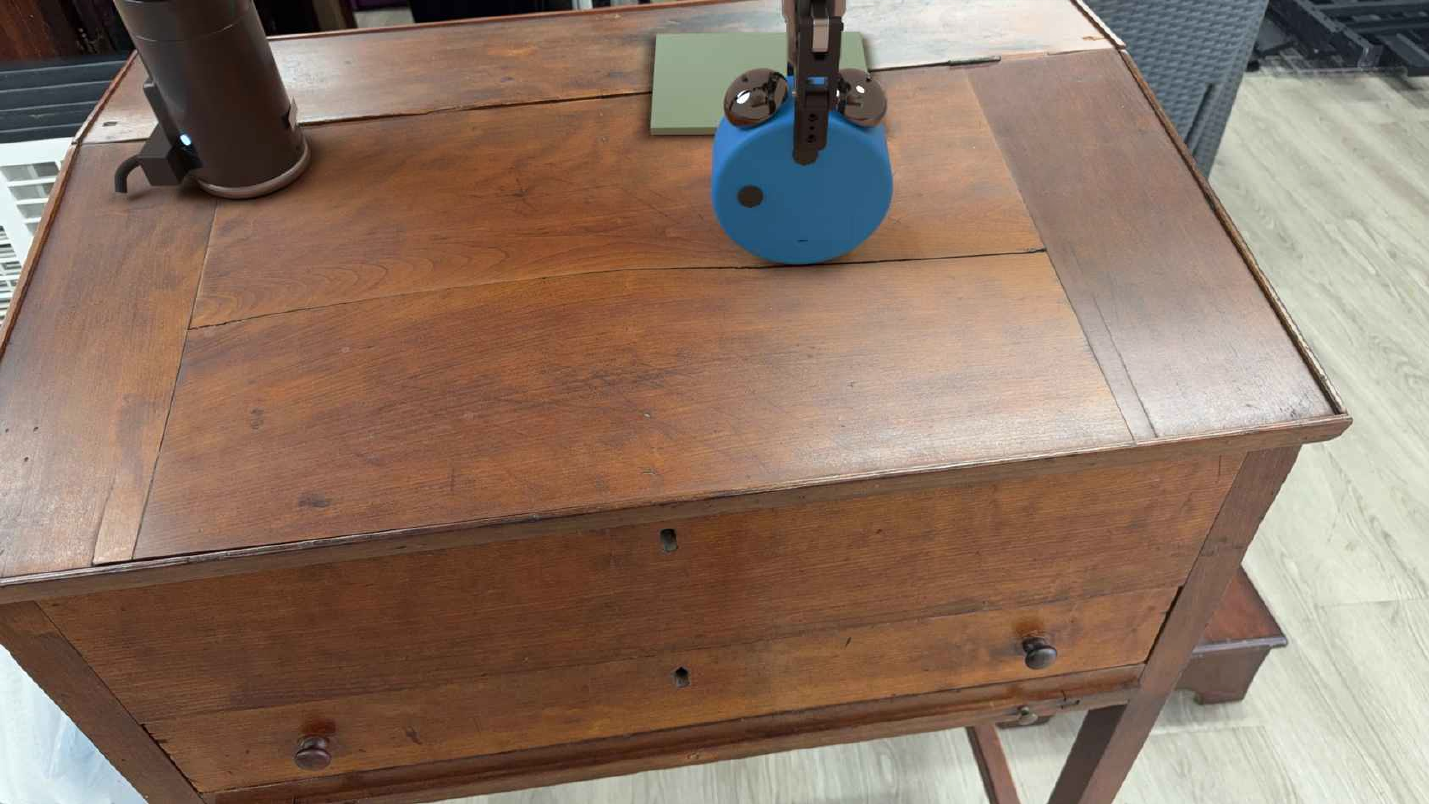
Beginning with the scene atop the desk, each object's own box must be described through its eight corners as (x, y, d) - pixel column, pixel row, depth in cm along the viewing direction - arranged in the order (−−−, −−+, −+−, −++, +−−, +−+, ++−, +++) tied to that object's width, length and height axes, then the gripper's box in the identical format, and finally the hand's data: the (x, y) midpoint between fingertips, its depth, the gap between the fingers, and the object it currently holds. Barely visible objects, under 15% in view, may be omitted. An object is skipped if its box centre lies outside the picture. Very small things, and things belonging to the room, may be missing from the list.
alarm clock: (875, 219, 83) (899, 48, 71) (882, 270, 79) (909, 98, 67) (713, 219, 83) (711, 49, 71) (712, 270, 79) (709, 98, 67)
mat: (650, 135, 91) (650, 127, 90) (656, 41, 101) (656, 33, 101) (876, 132, 90) (877, 125, 90) (859, 38, 101) (860, 31, 100)
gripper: (751, -177, 64) (749, 59, 76) (758, -76, 55) (754, 174, 67) (871, -179, 64) (849, 57, 76) (899, -78, 55) (869, 173, 67)
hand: (805, 112), depth 72 cm, fingers open, 8 cm apart
